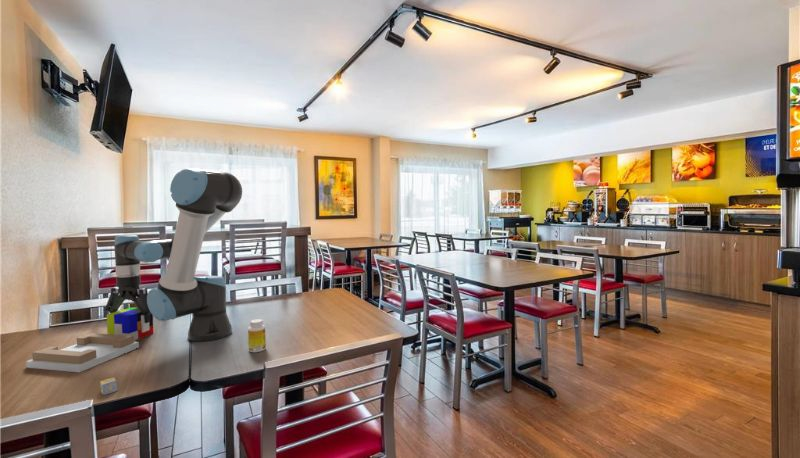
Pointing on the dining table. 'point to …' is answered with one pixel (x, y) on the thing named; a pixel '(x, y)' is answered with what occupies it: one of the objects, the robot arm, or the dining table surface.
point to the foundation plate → (100, 358)
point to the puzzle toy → (128, 323)
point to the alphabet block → (108, 386)
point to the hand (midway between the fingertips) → (130, 330)
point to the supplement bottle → (256, 336)
